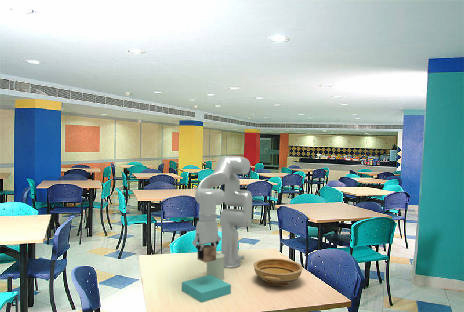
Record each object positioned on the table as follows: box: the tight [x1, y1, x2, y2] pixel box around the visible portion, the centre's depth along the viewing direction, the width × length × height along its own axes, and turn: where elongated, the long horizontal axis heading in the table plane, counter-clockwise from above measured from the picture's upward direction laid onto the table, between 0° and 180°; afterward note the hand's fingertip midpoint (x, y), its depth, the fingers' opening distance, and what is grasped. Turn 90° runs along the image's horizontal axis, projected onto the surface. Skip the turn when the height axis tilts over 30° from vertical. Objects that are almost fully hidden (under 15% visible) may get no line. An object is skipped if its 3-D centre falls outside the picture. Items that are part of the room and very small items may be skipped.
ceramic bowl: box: [253, 258, 303, 287], centre depth 180 cm, size 30×24×8 cm
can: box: [205, 252, 225, 281], centre depth 184 cm, size 9×9×12 cm
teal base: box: [181, 275, 232, 303], centre depth 166 cm, size 16×16×4 cm
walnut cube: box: [197, 243, 217, 264], centre depth 165 cm, size 6×6×6 cm
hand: (206, 257), depth 165 cm, fingers closed on walnut cube, 6 cm apart
